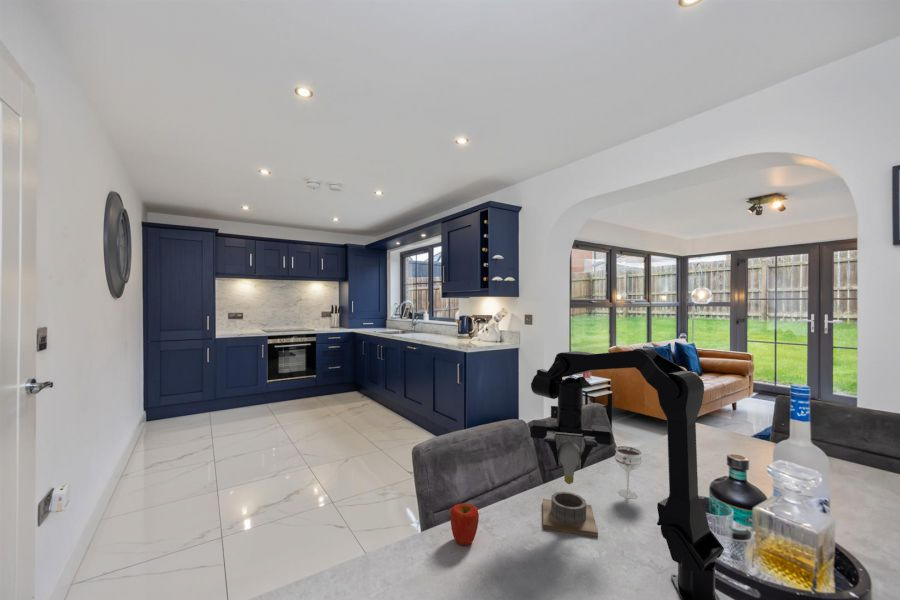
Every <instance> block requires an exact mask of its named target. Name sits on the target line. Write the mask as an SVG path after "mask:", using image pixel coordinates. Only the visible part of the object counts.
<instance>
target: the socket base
mask: <svg viewBox="0 0 900 600" xmlns="http://www.w3.org/2000/svg"><path fill="white" fill-rule="evenodd" d="M542 525H543V526H542V529H543V530H547V531H548V530H549V531H555V532H563V533H568V534H575V535H582V536H587V537H595V538H598V537H599V532H598V527H597V523H596V519H595V515H594V512H593V507H592V505H591V504H587V501H586V500H585V498H583V497H582V496H581V495H579V494H576V493H574V492H570V491H558V492H555V493H553V494H551V497H550V499H546V498H543V499H542Z"/></svg>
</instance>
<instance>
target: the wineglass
mask: <svg viewBox="0 0 900 600" xmlns="http://www.w3.org/2000/svg"><path fill="white" fill-rule="evenodd" d="M614 449H615V451H616V452H615V454H614V459H615V462H616V464H618V466H619V467H620V468H621V469H624V471H626V472H625V473H626V489H619V490H618V491H617V493H619V494H620V495H619V494H618V495H619V496H621V497H623V498H626V499H637V498H638V497H639V496H638V494H637V493H636V492H635V491H632V490H629V487H630V484H629V483H630V472H632V471H635V470H637V469H638V468H640V467H641V466H642V460H643V459H642V456H641V455H642V451H641V450H640V449H638V448H636V447H632V446H626V445H621V446H616V447H615V448H614Z"/></svg>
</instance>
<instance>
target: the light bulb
mask: <svg viewBox="0 0 900 600" xmlns="http://www.w3.org/2000/svg"><path fill="white" fill-rule="evenodd" d="M557 452H558V460H559V461H560V463H561V465H562V467H563V471H564V472H563V474H564V480H563V481H564V482H565V483H566V484H568V485H570V484H573V483H574V476H575V469H576V468H577V466H578V465H579V464H580V460H581V448H579V446H578V444H575V443H574V442H570V441H565V442H562V443H561V444H560V445H559V447H558V448H557Z"/></svg>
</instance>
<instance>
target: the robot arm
mask: <svg viewBox="0 0 900 600" xmlns="http://www.w3.org/2000/svg"><path fill="white" fill-rule="evenodd" d="M553 360H554V361H553V363H552V364H551V365H550V367H549V369H548V370H546V369H545V368H544V369H537V370H536V374H535V375H534V376H533V378H532V381H531V383H530V388H531V391H532V393H533V394H534V395H537V396H541V397H545V398H548V399H553V400H556V399H557V405H551V406H550V419H552V420H556V425H548V424H547V421H546V420H537V419H536V420H535V419H534V420H532V421H531V422H530V429H529V430H530V435H529V436H530V438H532V439H541V440H542V439H543V442H544V443H547V444H548V446H549V449H550V451H551V452H552V455H553V459H554V462H555V464H556V465H555V466H556V467H558V468H559V466H560V465H559V461H560V460H559V457H558V447H557V446H558V445H557V438H556V437H557V436H559V435H560V436H569V437H571V436H572V437H578V438H579V437H582V438H581V448H580V451H581V460H580V462H579V468H580V470H583V468H584V466H585V464H586V462H587V459H588V457H589V455H590V454H591V452H592V450H593V449H594V448H598V446H599V445H606V446H612V445H613V434H612V432H611V430H610V429H609V427H608V426H607V425H597V424H592V425H591V428H583V389H585V388H591V383H590V382H589V381H588V380H587V379H586V378H585V377H584V376H579V375H583V374H586V373H589V372H593V371H596V370H598V371H599V370H615V369H616V370H617V369H629V368H630V369H632V368H635V369H636V370H638V371H639V373H640V374H641V375H642V377H643V379H644V380H645V381H646V383H647V384H648V385H650V386H651V387H652V388H653V389H654V390H655V391H656V393H657V399H658V403H659V407H660V408H661V410H662V413H664V414H663V415H664V416H665V417H666V422H667V423H666V426H667V427H666V429H667V431H666V432H667V453H668V454H667V457H668V483H669V484H668V489H669V494H668V496H667V497H666V498H664V499H662V500H661V501H659V502H657V506H656V508H657V513H658V514H657V515H658V519H657V520H658V521H657V523H656V525H657V526H660V532H661V535H662V538H663V539H664V540H665V541H666V543H667V548H668V550H669V554H670V556H671V560H672V561H673V562H675V563H677V574H674V573H673V574H670V579H671V580H672V582H673V585H674V587H675V589H676V590H677V593H678V596H679V597H680V599H681V600H721V599H720V597H719V596H718V595H719V594H717V592H716V562H715V561H716V560H717V559H719V558H720V557H721V556H722V554H723V553H724V550H725V547H724V546H723V544H722V543H721V542H720V540H719V539H718V538H717V536H716V535H715V534H714V533H713V531H712V530H711V529H710V526H709V522H708V516H707V511H706V510H705V507H704V506H703V504H702V502H701V500H700V497H699V486H698V484H699V483H698V482H699V481H698V457H697V456H698V454H697V453H698V451H697V431H696V430H697V425H696V424H697V423H696V421H697V418H698V415H699V413H700V410H701V408H702V405H703V399H704V393H705V384H704V380H703V379H701V377H699V375H697V374H696V373H694V372H692V371H688V370H685V369H684V368H682V366H680V365H679V364H677V363H675V362H673V361H671V360H670V359H667V358H666V357H665V356H662V355H661V354H659V353H658V352H657V351H656V350H654V349H653V348H650V347H640V348H635V349H632V350H623V351H621V350H620V351H612V352H602V353H601V352H600V353H593V352H592V353H591V352H588V351H563V352H559V353H557V354H556V355H555V357H554V359H553ZM577 375H578V377H575V378H574V377H572V376H577ZM563 378H564V379H563ZM556 435H557V436H556Z"/></svg>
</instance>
